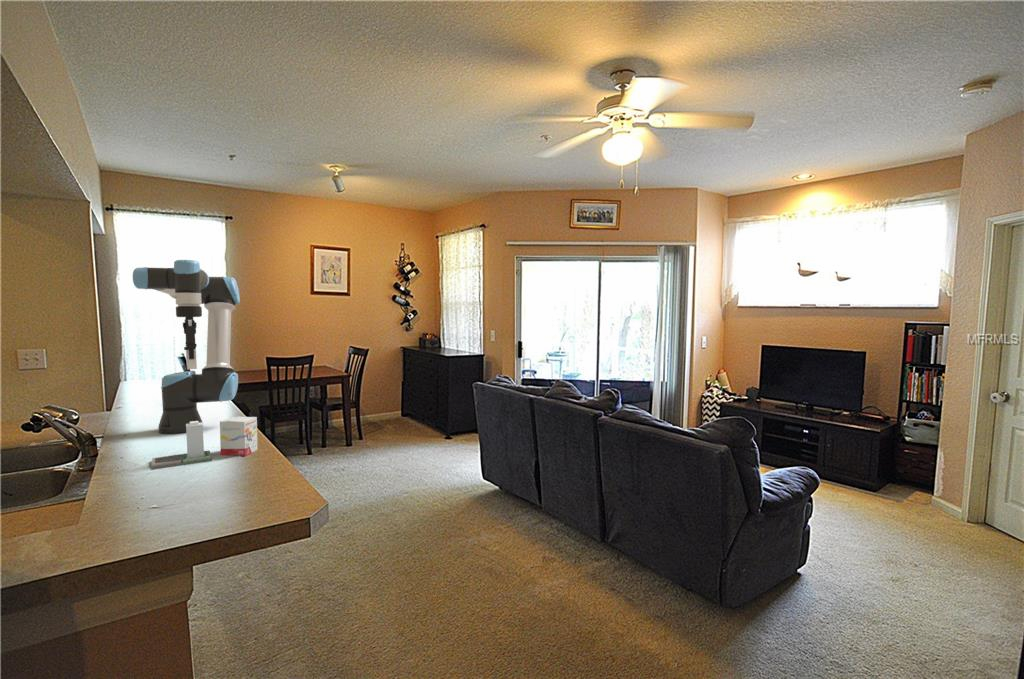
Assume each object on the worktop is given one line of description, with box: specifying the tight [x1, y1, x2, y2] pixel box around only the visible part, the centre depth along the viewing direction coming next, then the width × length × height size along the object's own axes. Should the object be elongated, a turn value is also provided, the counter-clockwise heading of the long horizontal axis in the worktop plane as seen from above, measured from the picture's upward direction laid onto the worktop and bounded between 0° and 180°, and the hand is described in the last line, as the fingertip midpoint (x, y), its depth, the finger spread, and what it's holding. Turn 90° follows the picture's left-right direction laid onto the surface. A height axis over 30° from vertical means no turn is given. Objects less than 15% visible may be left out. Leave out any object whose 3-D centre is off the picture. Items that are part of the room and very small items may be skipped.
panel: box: [150, 450, 213, 471], centre depth 164 cm, size 13×16×2 cm
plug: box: [185, 421, 205, 459], centre depth 166 cm, size 4×4×12 cm
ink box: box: [219, 416, 258, 457], centre depth 174 cm, size 9×9×12 cm
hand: (191, 367), depth 177 cm, fingers open, 13 cm apart
